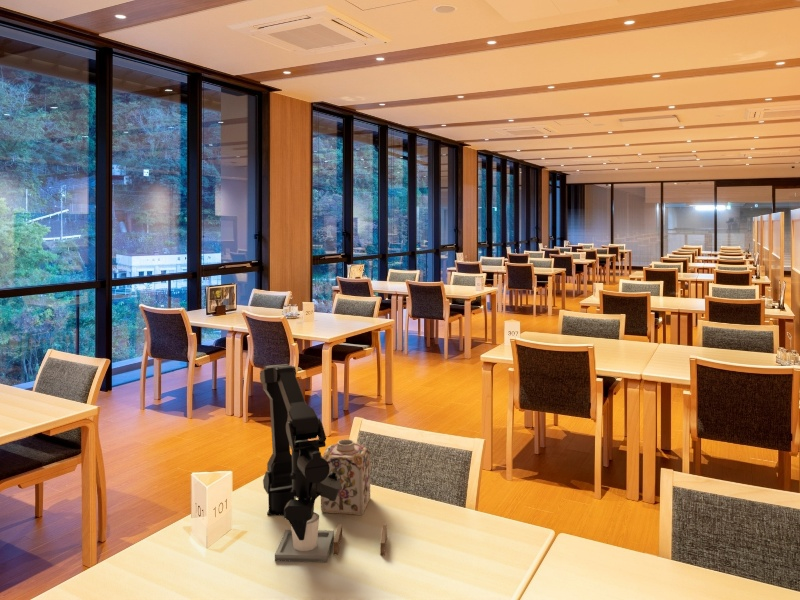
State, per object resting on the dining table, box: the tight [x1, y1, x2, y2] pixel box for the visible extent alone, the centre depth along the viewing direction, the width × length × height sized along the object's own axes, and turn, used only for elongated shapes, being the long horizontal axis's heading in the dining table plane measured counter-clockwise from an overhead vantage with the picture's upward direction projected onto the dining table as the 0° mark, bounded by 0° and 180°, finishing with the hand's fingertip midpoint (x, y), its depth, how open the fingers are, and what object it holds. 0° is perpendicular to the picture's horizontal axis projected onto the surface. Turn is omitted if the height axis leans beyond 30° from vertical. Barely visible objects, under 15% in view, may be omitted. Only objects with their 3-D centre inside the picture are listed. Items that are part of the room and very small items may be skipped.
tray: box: [274, 529, 335, 563], centre depth 154 cm, size 12×12×2 cm
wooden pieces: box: [332, 523, 388, 556], centre depth 156 cm, size 12×9×3 cm
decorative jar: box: [320, 439, 371, 516], centre depth 177 cm, size 12×12×18 cm
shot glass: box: [290, 511, 320, 551], centre depth 154 cm, size 7×7×7 cm
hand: (305, 530), depth 154 cm, fingers open, 9 cm apart
